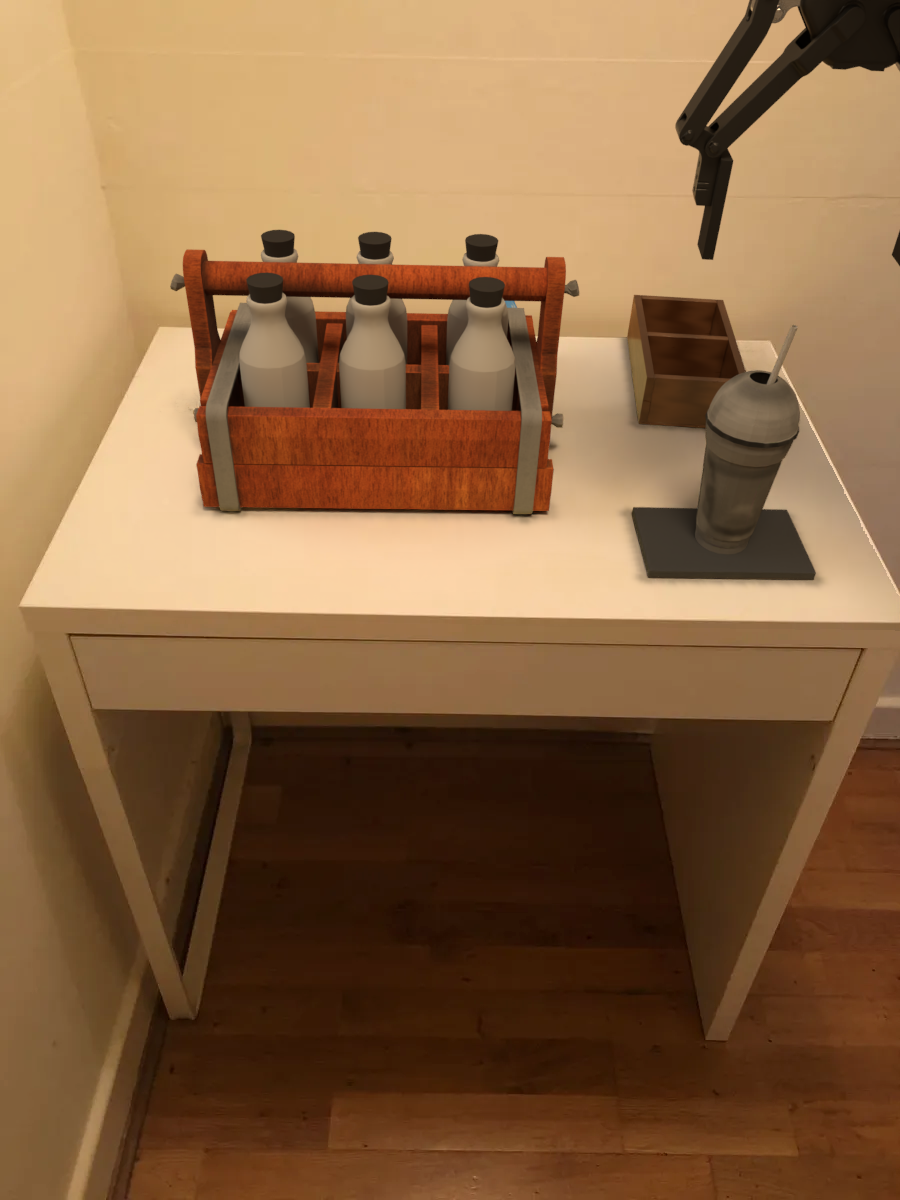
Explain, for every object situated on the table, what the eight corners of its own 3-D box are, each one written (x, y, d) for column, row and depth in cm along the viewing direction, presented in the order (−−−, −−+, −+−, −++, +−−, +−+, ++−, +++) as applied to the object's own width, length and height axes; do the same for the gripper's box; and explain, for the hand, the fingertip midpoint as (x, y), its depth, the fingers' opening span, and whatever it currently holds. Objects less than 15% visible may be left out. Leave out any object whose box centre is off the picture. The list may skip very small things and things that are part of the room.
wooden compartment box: (713, 342, 114) (723, 299, 111) (737, 430, 100) (749, 383, 96) (626, 337, 115) (633, 294, 111) (638, 423, 100) (646, 377, 97)
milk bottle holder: (216, 395, 102) (188, 206, 89) (550, 400, 103) (570, 215, 91) (177, 515, 86) (138, 306, 74) (572, 519, 87) (601, 315, 75)
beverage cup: (699, 503, 89) (751, 291, 75) (776, 533, 86) (844, 317, 72) (664, 543, 84) (712, 324, 71) (744, 576, 81) (809, 354, 68)
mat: (784, 516, 89) (787, 509, 88) (813, 580, 82) (816, 572, 82) (631, 513, 88) (632, 506, 88) (648, 578, 82) (649, 570, 81)
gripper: (1103, -117, 57) (967, 246, 71) (670, -134, 58) (620, 228, 71) (1166, -104, 51) (1004, 289, 65) (685, -123, 52) (627, 268, 66)
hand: (803, 258), depth 68 cm, fingers open, 13 cm apart
